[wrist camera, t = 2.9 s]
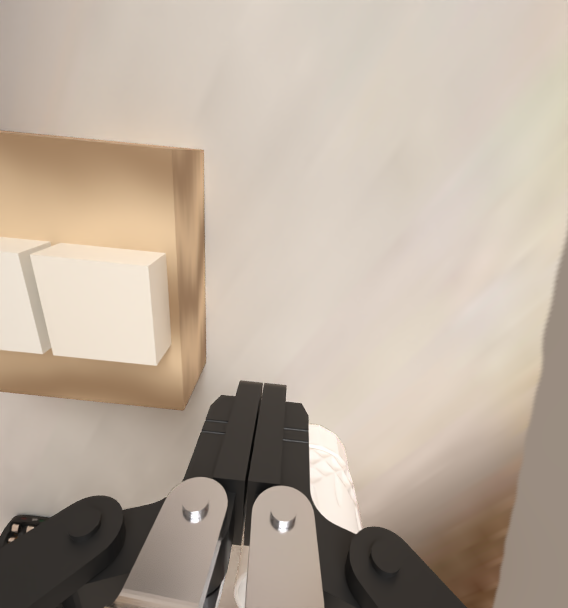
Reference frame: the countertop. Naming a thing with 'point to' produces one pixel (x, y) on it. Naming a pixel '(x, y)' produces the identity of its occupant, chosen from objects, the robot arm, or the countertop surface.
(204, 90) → the countertop surface
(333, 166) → the countertop surface
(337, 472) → the white cup
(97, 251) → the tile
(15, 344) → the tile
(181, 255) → the tan flat block
